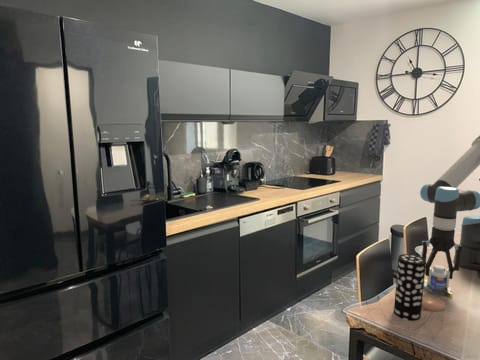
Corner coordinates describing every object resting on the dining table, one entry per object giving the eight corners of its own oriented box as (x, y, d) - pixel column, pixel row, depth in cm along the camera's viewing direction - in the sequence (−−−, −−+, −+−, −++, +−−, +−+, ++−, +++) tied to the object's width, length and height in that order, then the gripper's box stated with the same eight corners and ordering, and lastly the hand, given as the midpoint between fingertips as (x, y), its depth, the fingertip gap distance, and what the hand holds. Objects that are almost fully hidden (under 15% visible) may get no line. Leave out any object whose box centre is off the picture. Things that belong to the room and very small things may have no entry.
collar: (432, 281, 144) (432, 278, 144) (459, 295, 132) (460, 291, 132) (415, 285, 141) (415, 281, 140) (441, 299, 129) (442, 295, 129)
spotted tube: (419, 323, 113) (425, 265, 110) (391, 316, 118) (396, 260, 114) (421, 312, 120) (427, 257, 117) (395, 305, 125) (400, 252, 121)
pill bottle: (436, 294, 133) (438, 270, 132) (426, 287, 138) (428, 264, 137) (448, 292, 134) (451, 269, 133) (437, 286, 140) (440, 263, 138)
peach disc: (427, 295, 132) (427, 292, 132) (451, 308, 123) (451, 305, 123) (406, 299, 129) (407, 297, 129) (429, 313, 120) (429, 310, 120)
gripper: (468, 227, 133) (462, 284, 137) (415, 222, 139) (410, 277, 143) (474, 233, 126) (467, 293, 130) (417, 227, 132) (412, 285, 136)
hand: (437, 284), depth 136 cm, fingers closed on pill bottle, 5 cm apart
